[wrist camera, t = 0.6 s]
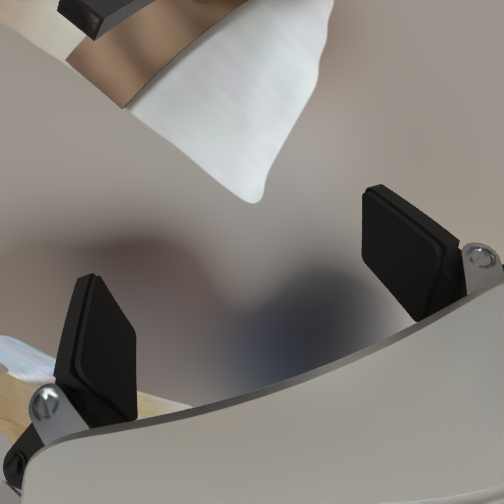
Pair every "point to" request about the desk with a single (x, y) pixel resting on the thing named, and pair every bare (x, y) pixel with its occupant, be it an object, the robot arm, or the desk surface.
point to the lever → (99, 14)
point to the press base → (145, 44)
